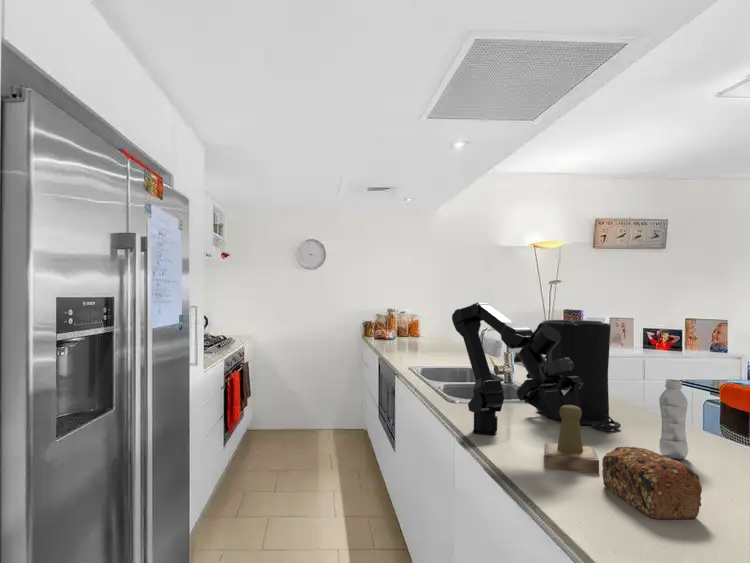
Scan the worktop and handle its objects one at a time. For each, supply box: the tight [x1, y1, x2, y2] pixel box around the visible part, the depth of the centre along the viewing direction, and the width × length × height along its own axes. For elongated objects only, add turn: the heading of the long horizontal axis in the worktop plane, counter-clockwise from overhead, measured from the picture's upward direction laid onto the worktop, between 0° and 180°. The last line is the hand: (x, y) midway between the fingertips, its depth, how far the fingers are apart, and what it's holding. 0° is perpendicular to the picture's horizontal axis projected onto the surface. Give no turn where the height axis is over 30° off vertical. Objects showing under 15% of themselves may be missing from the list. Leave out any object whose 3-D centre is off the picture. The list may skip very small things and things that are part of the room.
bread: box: [601, 446, 703, 520], centre depth 110 cm, size 19×11×10 cm, turn 4°
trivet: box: [543, 442, 600, 474], centre depth 135 cm, size 12×12×3 cm
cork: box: [557, 405, 583, 454], centre depth 135 cm, size 6×6×11 cm
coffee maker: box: [535, 319, 622, 433], centre depth 185 cm, size 23×32×34 cm
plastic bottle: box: [658, 378, 689, 460], centre depth 141 cm, size 6×7×20 cm
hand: (567, 416), depth 136 cm, fingers open, 9 cm apart
